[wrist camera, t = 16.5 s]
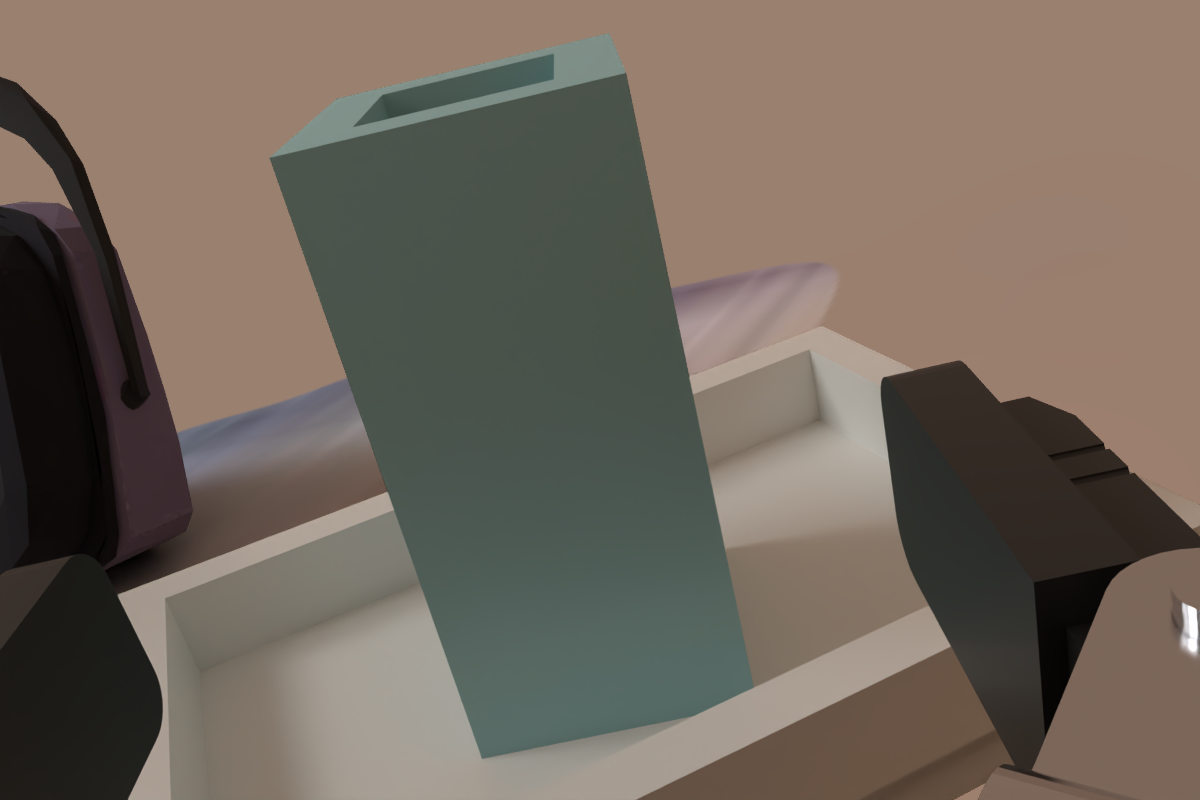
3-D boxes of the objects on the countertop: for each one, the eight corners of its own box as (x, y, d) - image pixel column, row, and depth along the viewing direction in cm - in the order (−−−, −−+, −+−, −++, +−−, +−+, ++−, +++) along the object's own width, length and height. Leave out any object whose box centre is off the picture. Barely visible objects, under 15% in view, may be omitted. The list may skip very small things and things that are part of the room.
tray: (187, 1206, 14) (94, 1063, 13) (171, 700, 25) (118, 594, 24) (1218, 659, 19) (1221, 514, 18) (836, 426, 29) (821, 325, 28)
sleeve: (757, 703, 19) (626, 72, 15) (481, 758, 19) (269, 157, 15) (718, 549, 24) (609, 33, 19) (495, 596, 24) (336, 98, 19)
